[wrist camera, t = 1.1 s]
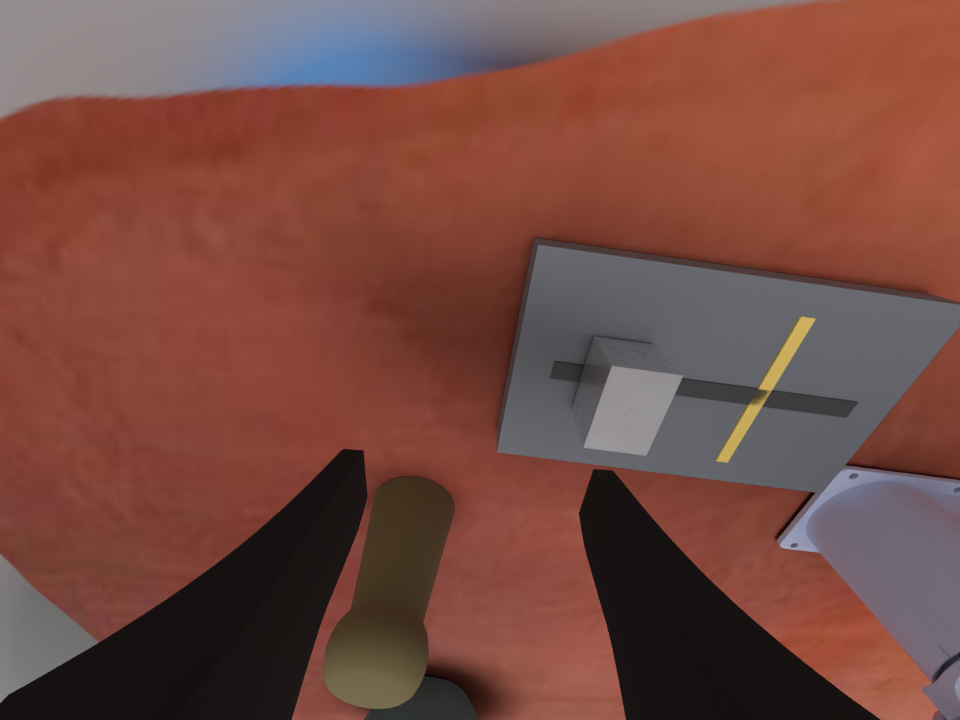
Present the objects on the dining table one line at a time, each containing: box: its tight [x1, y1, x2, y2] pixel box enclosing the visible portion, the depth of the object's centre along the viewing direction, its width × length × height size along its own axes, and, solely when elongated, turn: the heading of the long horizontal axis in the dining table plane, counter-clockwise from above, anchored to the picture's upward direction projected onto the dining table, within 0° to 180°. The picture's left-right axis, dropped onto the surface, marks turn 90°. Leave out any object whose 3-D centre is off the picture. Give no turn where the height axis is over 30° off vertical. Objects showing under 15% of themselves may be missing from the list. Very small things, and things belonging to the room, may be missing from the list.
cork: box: [323, 476, 454, 709], centre depth 21 cm, size 6×6×11 cm
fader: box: [571, 336, 683, 456], centre depth 17 cm, size 3×4×3 cm
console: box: [497, 238, 960, 493], centre depth 19 cm, size 20×12×2 cm, turn 83°
